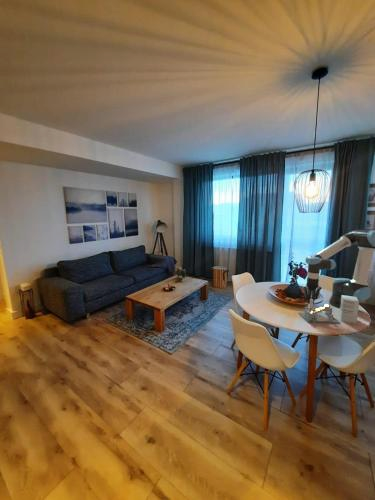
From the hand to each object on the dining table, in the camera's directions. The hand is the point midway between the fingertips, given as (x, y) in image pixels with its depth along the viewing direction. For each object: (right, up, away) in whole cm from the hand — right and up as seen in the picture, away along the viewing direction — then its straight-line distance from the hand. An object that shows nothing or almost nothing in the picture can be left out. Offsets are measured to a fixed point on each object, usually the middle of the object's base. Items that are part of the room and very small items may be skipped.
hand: (310, 307), depth 157 cm
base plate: (+4, -7, -3) cm, 9 cm away
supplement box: (+24, -7, -6) cm, 26 cm away
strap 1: (+5, -2, 0) cm, 6 cm away
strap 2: (+2, 0, -8) cm, 8 cm away
